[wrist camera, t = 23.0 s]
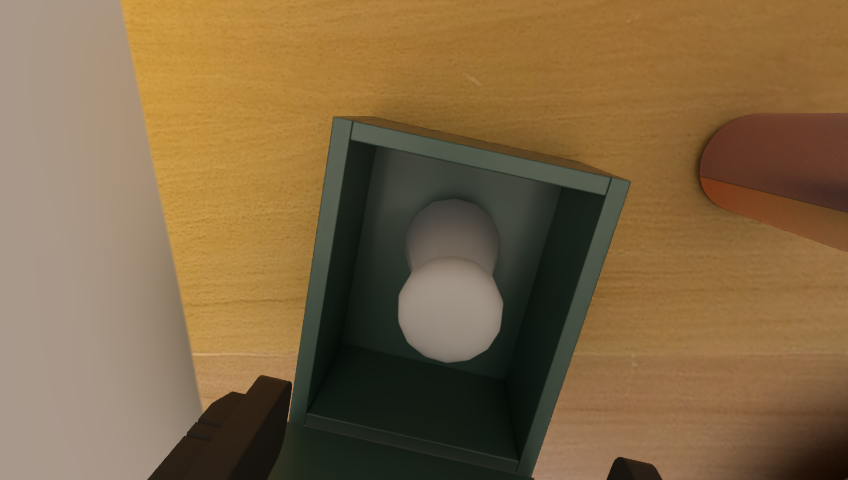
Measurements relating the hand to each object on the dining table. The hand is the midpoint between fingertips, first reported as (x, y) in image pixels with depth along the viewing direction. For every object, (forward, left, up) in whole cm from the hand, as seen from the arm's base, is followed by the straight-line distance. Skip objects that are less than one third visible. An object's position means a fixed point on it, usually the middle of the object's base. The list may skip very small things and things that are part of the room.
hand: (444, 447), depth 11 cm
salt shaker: (0, 0, -20) cm, 20 cm away
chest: (+2, +1, -21) cm, 21 cm away
